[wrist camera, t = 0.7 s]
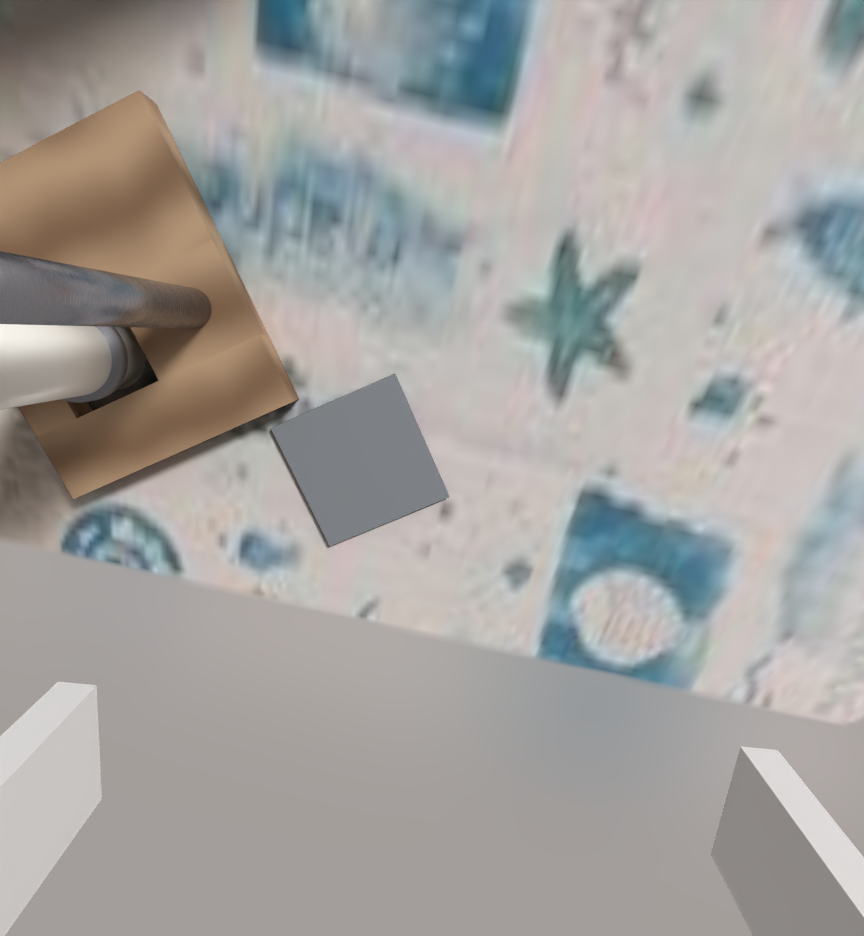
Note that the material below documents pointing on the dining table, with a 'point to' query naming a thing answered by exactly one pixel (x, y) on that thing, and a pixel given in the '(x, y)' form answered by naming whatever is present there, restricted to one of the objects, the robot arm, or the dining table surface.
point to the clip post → (93, 297)
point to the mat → (361, 460)
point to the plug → (66, 363)
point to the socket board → (150, 257)
